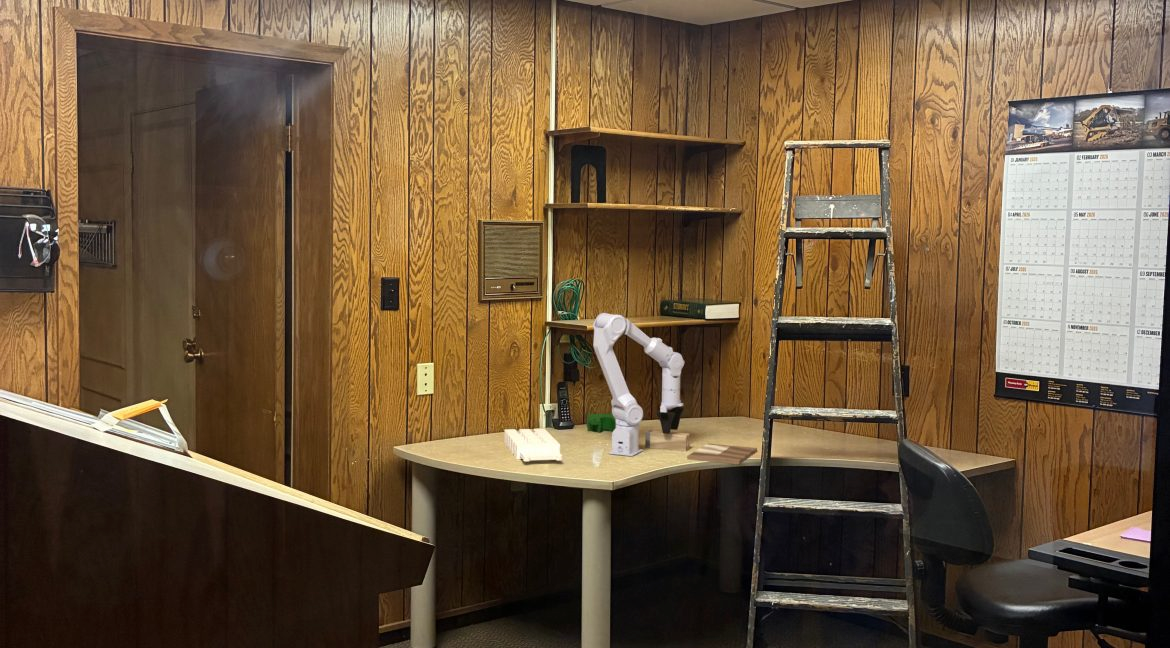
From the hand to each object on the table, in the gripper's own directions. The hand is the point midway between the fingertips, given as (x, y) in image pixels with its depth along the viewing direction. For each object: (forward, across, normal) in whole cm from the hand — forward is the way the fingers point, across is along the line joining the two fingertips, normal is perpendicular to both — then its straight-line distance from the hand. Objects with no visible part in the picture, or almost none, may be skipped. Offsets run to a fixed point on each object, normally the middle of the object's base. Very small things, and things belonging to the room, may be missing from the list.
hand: (670, 431), depth 325 cm
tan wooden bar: (+6, 0, 0) cm, 6 cm away
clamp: (+6, +18, +30) cm, 36 cm away
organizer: (+6, -27, +35) cm, 45 cm away
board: (+6, -2, -18) cm, 19 cm away
